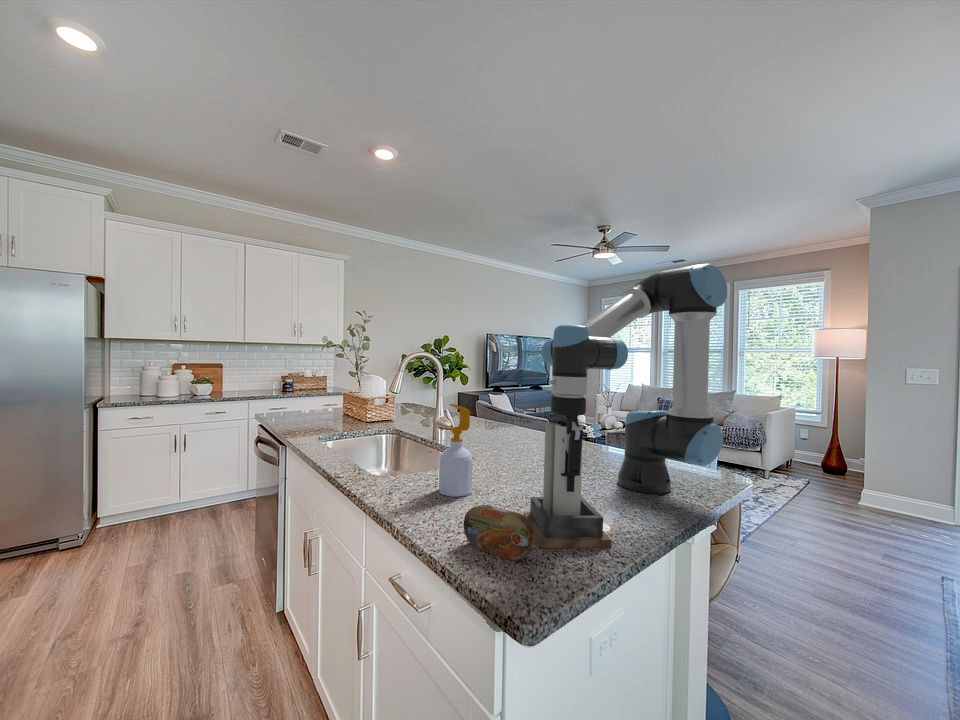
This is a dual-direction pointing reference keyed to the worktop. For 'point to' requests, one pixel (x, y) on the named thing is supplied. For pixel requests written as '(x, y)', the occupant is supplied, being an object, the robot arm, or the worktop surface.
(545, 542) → the open box on board
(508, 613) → the worktop surface
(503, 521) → the tin
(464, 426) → the soap bottle
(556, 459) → the paper towel roll
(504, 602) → the worktop surface
